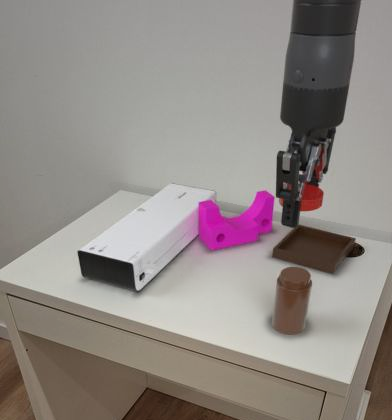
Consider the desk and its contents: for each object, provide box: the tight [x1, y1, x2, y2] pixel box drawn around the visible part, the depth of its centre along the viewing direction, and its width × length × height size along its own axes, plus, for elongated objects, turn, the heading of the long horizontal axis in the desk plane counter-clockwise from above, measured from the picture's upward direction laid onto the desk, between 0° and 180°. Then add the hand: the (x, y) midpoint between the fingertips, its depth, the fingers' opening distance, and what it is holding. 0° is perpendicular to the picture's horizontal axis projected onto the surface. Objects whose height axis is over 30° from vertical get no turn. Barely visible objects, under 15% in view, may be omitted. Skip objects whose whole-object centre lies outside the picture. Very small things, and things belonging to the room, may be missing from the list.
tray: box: [271, 223, 357, 275], centre depth 93 cm, size 12×12×2 cm
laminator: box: [76, 182, 217, 293], centre depth 94 cm, size 34×12×6 cm, turn 154°
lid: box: [278, 184, 325, 212], centre depth 64 cm, size 6×6×2 cm
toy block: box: [198, 189, 276, 251], centre depth 97 cm, size 15×6×8 cm, turn 113°
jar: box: [271, 266, 313, 335], centre depth 73 cm, size 5×5×9 cm
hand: (298, 216), depth 66 cm, fingers closed on lid, 5 cm apart
